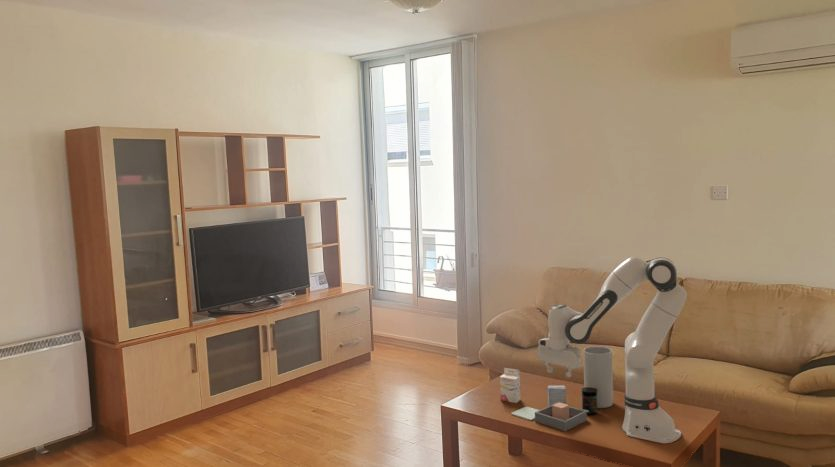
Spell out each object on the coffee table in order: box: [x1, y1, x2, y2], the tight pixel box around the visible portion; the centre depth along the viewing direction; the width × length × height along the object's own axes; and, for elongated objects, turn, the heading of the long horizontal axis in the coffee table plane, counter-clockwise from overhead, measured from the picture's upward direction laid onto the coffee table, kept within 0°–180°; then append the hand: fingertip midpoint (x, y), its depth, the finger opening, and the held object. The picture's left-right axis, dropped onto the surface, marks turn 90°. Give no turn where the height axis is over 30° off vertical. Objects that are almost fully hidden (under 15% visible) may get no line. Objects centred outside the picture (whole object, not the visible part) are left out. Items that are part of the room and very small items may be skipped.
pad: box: [510, 406, 540, 422], centre depth 274 cm, size 11×11×1 cm
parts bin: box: [534, 403, 588, 432], centre depth 265 cm, size 16×16×4 cm
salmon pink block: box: [551, 402, 570, 421], centre depth 265 cm, size 5×5×7 cm
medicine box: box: [547, 385, 567, 406], centre depth 283 cm, size 8×4×9 cm, turn 84°
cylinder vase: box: [583, 346, 614, 409], centre depth 282 cm, size 12×12×25 cm
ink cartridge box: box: [499, 367, 521, 404], centre depth 292 cm, size 9×5×15 cm, turn 58°
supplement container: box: [581, 387, 599, 416], centre depth 272 cm, size 7×7×10 cm
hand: (559, 374), depth 263 cm, fingers open, 8 cm apart
